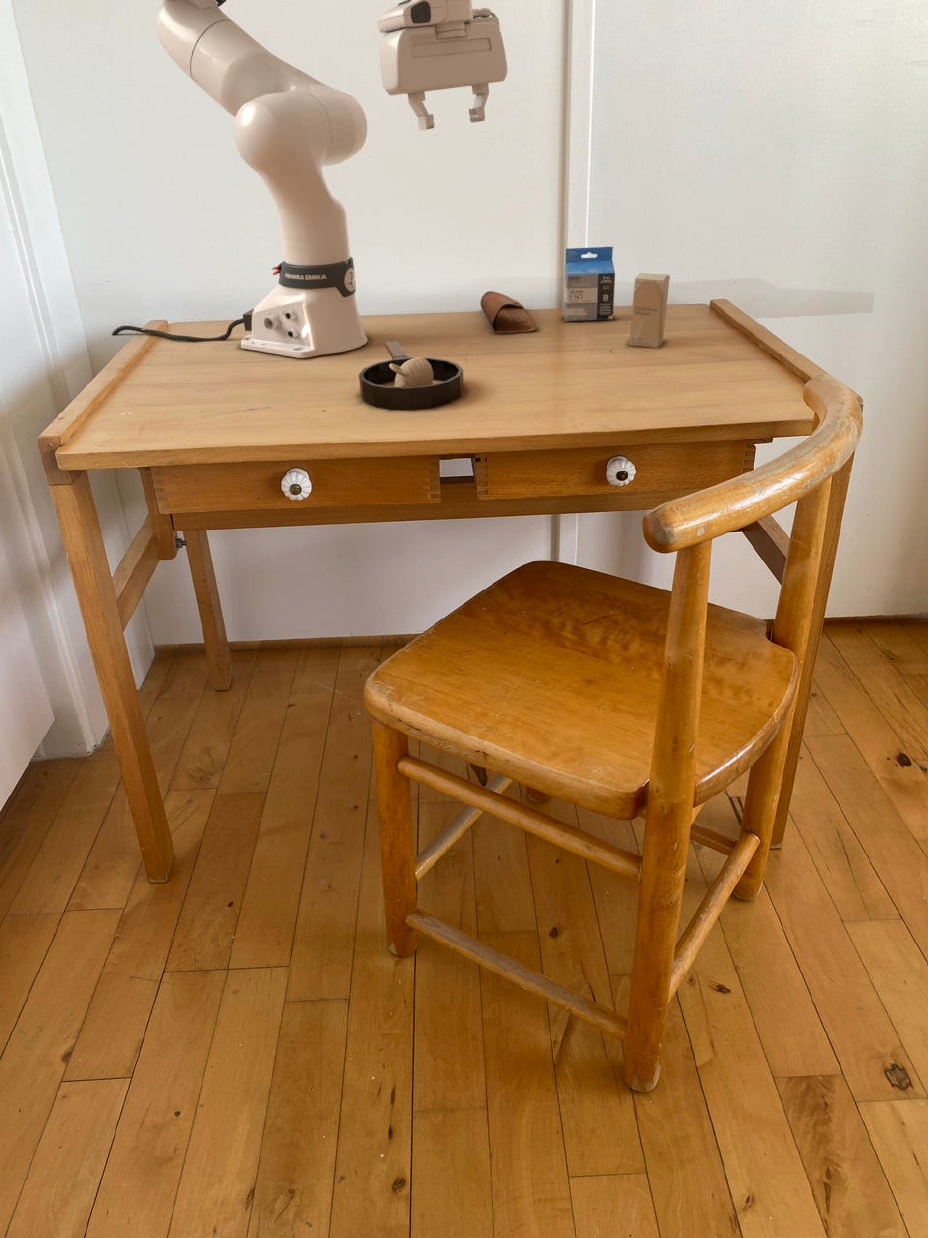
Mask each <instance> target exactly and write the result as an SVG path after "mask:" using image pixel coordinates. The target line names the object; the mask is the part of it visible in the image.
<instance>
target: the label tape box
mask: <svg viewBox="0 0 928 1238" xmlns="http://www.w3.org/2000/svg"><path fill="white" fill-rule="evenodd" d="M613 251H614V246H594V247H593V246H591V247H590V246H589V247H570V248H565V262H564V285H563V286H564V287H563V288H564V291H563V293H564V294H563V317H564V320H565V321H566V322H578V321H579V322H581V321H603V320H605V321H606V320H613V318H614V307H615V283H616V270H615V267H614V266H615V265H614V261H613V254H614V253H613ZM589 253H590V254H591V255H596V256H595V257H582V256H583V255H588V254H589Z"/></svg>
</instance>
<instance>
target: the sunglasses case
mask: <svg viewBox="0 0 928 1238" xmlns="http://www.w3.org/2000/svg"><path fill="white" fill-rule="evenodd" d="M480 308H481V310H482V311H483V313H484V314H485V317H486V318H487V321H488V322H489V325H490V326H491V328H492V329H493V331H494V332H495V333H496V334H499V335H500V334H501V335H502V334H503V335H507V334H508V335H514V334H523V333H529V332H533V331H536V330H537V328H536V325H535V323H534V321H533V320H532V319H531V317H530V315H529V314H528V312H527V311H526V309H525V307H524V305H523V304H522V303H521V302H519V301H518V300H515V299H513V298H512V297H509V296H508V295H506V294H504V293H500V292H497V291H492V290H489V291H486V292H484V293H483V295H482V296H481V299H480Z"/></svg>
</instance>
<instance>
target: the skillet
mask: <svg viewBox="0 0 928 1238" xmlns="http://www.w3.org/2000/svg"><path fill="white" fill-rule="evenodd" d="M384 347H385V349H386V352H387V353H388V354H389V356H390V357H391V359H389V360H384V361H379V362H376V363H372V364H371V365H368V366H366V367H365V368H363V369H362V370H361V372H360V373H359V374H358V379H359V389H360V390H359V391H360V397H361V398H362V401H363V402H364V403H365V404H367V405H370V406H372V407H374V408H379V409H385V410H390V411H417V410H418V411H419V410H427V409H432V408H437V407H442V406H445V405H450V404H452V403H453V402H455V401H457V400H458V399H460V398H461V397H462V395H463V394H464V391H465V387H464V386H465V385H464V369H463V368H462V367H461V365H460V364H459V363H456V362H453V361H452V360H448V359H443V358H435V357H424V358H425V359H426V360H427V361H428V362H429V363H430V364H431V367H432V370H433V381H435V380H436V381H440V382H437V383H434V384H433V385H427V386H418V387H394V386H388V385H383V384H387V383H391V382H395V378H396V375H397V373H396V372H395V371H393V370H392V369H391V368H390V367H389V365H390V364H391V363H392V364H395V365H397V366H399V367H401V366H402V365H403V364H404V363H405V362H406V361H408V360H410V359H413V358H417V357H410V356H409V355H407V354H406V352H405V351H404V350H403V348H402V347H401V345H400V344H399V341H397V340H391V341H384Z"/></svg>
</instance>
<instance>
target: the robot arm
mask: <svg viewBox="0 0 928 1238" xmlns="http://www.w3.org/2000/svg"><path fill="white" fill-rule="evenodd" d="M226 2H227V0H161V5H160V7H159V9H158V12H157V14H156V20H155V30H156V34H157V38H158V40H159V42H160V44H161V46H162V47H163V49H164V50H165V51H166V52H167V53H168V55H169V56H170V57H171V59H172V60H173V61H174V63H175V64H176V65H177V66H178V67H179V68H180V69H181V70H182V71H183V73H184V74H186V76H188V77H189V78H190V80H192V82H194V83H195V84H196V85H197V86H198V87H200V88H201V90H203V91H204V92H205V93H206V94H207V95H208V96H209V97H211V98H212V100H214V101H215V102H216V103H217V104H218V105H219V106H221V107H222V108H223V109H224V111H225V110H226V112H227V113H228V114H230V115H231V116H233V117H235V118H234V122H233V137H234V138H233V139H234V142H235V146H236V149H237V151H238V153H239V155H240V157H241V158H242V160H243V161H244V162H245V164H246V165H248V166H249V167H250V168H251V169H253V170H254V171H255V172H256V174H257V175H258V176H259V178H260V179H261V180H262V181H263V184H264V185H265V187H266V188H267V191H268V192H269V195H270V197H271V199H272V201H273V202H272V203H273V204H274V207H275V210H276V214H277V218H278V223H279V228H280V229H279V230H280V235H281V242H282V250H283V256H284V261H282V262H281V263H279V264H278V265H277V266H274V267H273V268H271V270H273V272H272V275H273V276H276V275H279V277H278V281H277V282H278V284H277V285H276V286H275V287H274V288H273V289H272V290H271V291H270V292H269V293H268V294H267V295H266V296H265V297H264V298H263V299H262V300H261V301H260V302H259V303H258V304H256V306H255V307H254V308H252V309H250V310H248V311H246V312H245V313H243V314H242V318H239V319H236V320H234V321H232V322H231V323H230V324H229V325H228V327H227V330H226V333H224V334H221V335H219V336H217V337H197V336H189V335H179V334H171V333H167V332H164V331H161V330H156V329H148V328H143V327H138V326H134V325H121V326H118V327H117V328H115V329H114V330H113V331H112V333H111V336H117V335H118V334H119V333H121V332H124V331H133V332H138V333H143V334H146V335H147V334H149V335H156V336H160V337H163V338H167V339H171V340H177V341H178V340H179V341H189V342H196V343H198V342H199V343H200V342H217V341H219V342H220V341H224V340H227V339H229V337H230V336H231V335H232V331H233V329H234V328H235V327H237V326H238V325H241V324H243V325H244V331H245V332H251V333H249V334H247V335H246V336H244V337H243V338H242V339H241V341H240V348H241V349H242V350H243V349H244V350H250V351H255V352H256V351H257V352H260V353H268V354H274V355H280V356H286V357H293V358H296V359H297V358H298V359H306V358H311V357H316V356H321V355H330V354H338V353H343V352H348V351H352V350H355V349H358V348H361V347H362V346H364V345H366V344H367V343H368V337H367V334H366V332H365V329H364V326H363V322H362V320H361V315H360V311H359V307H358V303H357V297H356V292H357V291H356V290H357V289H356V273H355V265H354V258H353V257H352V256H351V248H350V240H349V227H348V226H349V225H348V218H347V215H348V214H347V211H346V208H345V207H344V205H343V203H342V202H341V201H340V200H339V199H337V198H335V197H334V196H333V194H332V193H331V190H330V189H329V187H328V185H327V182H326V180H325V176H324V173H323V169H322V168H323V167H324V168H325V167H330V166H335V165H340V164H342V163H343V162H346V161H347V160H349V159H351V158H352V157H354V156H356V155H357V154H358V153H359V152H360V151H361V150H362V149H363V147H364V146H365V143H366V140H367V137H368V121H367V116H366V113H365V111H364V108H363V107H362V105H361V104H360V103H359V101H358V100H357V99H356V97H354V96H352V95H350V94H348V93H346V92H343V91H340V90H337V89H335V88H333V87H331V86H329V85H327V84H325V83H322V81H319V80H317V79H316V78H314V77H312V76H311V75H309V74H308V73H306V72H304V71H302V70H301V69H299V68H297V67H295V66H294V65H291V64H289V63H288V62H286V61H285V60H283V59H281V58H279V57H278V56H276V55H275V54H273V53H272V52H271V51H270V50H268V49H266V48H265V47H264V46H263V45H262V44H261V43H260V42H258V41H257V40H256V39H255V38H254V37H252V36H251V35H250V34H249V33H248V32H247V31H245V30H244V29H243V28H242V27H241V26H240V25H238V24H237V23H236V22H235V21H234V20H233V19H231V18H230V17H229V16H228V15H227V14H225V13H224V12H223V11H222V10H221V8H220V7H221V6H222V5H224V4H225V3H226ZM376 23H377V28H378V31H379V33H382V34H383V35H382V36H381V38H380V40H379V45H378V55H379V67H380V75H381V83H382V87H383V89H384V90H385V91H386V93H387V94H388V95H389V96H391V97H392V96H399V95H407V100H408V104H409V106H410V108H411V110H412V111H413V112H414V114H415V116H416V117H417V123H418V128H419V130H420V131H425V130H433V129H435V121H434V120H435V117H434V113H431V114H429V111H428V110H427V108H426V105H425V104H424V102H425V101H426V92H432V91H441V90H449V89H456V88H466V87H471V93H472V95H473V96H474V95H475V97H474V100H473V107H472V108H468V114H469V121H470V123H480V122H484V121H485V120H486V113H485V107H486V104H487V100H488V98H489V94H490V89H489V84H497V83H502V82H504V81H505V80H506V77H507V75H508V62H507V56H506V50H505V44H504V40H503V36H502V32H501V27H500V19H499V17H498V16H497V15H496V14H495V12H493V11H492V10H491V9H490V8H488V7H482V8H473V1H472V0H403V1H401V2H399V3H398V4H395V5H394V6H392V7H390V8H389V9H387V10H385V11H383V12H381V13H380V14H378V15H377V17H376ZM274 270H275V271H274ZM142 329H145V330H142Z"/></svg>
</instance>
